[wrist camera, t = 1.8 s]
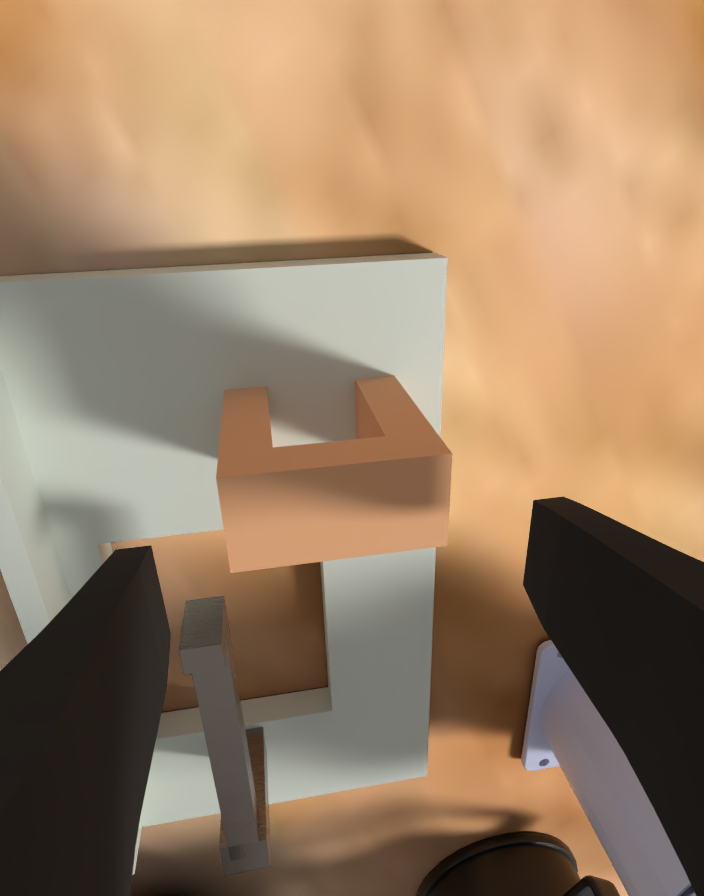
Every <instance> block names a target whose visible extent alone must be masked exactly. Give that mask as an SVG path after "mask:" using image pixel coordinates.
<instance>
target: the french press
mask: <svg viewBox="0 0 704 896" xmlns="http://www.w3.org/2000/svg"><path fill="white" fill-rule="evenodd" d="M417 896H620V895H619V893H618V891H617V889H616V887H615V886H614V884H613V883H611V882H610V881H607V880H604V879H600V878H597V877H593V876H585V877H584V878H582V879H581V880H580V878H579V875H578V870H577V864H576V860H575V858H574V856H573V854H572V852H571V851H570V849H569V847H568V846H567V845H565V844H564V843H563V842H562V841H561V840H559V839H556V838H554V837H552V836H550V835H545V834H540V833H524V832H522V833H512V834H505V835H501V836H496V837H492V838H488V839H486V840H483V841H480V842H477V843H474V844H472V845H470V846H468V847H466V848H464V849H462V850H460V851H458V852H456V853H455V854H453V855H451V856H450V857H448V858H447V859H445V860H444V861H443V862H441V863H440V864H439V865H438V866H437V867H436V868H434V869H433V870H432V871H431V873H430V874H429V875H428V876H427V877H426V878H425V879H424V881H423V883H422V885H421V886H420V888H419V890H418V893H417Z"/></svg>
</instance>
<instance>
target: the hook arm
mask: <svg viewBox="0 0 704 896" xmlns="http://www.w3.org/2000/svg"><path fill="white" fill-rule="evenodd" d="M179 653H180V658H181V662H182V667H183V672H184V675H187V674H192V677H193V682H194V687H195V691H196V696H197V701H198V706H199V711H200V716H201V720H202V725H203V730H204V735H205V740H206V745H207V749H208V754H209V759H210V764H211V769H212V774H213V779H214V783H215V788H216V793H217V798H218V803H219V808H220V812H221V830H220V852H221V857H222V861H223V866H224V870H225V875H231V874H236V873H241V872H246V871H252V870H257V869H262V868H267V867H271V856H270V828H269V801H268V773H267V751H266V744H265V736H264V729H263V727H258V728H252V729H246V730H245V725H244V719H243V712H242V706H241V700H240V694H239V687H238V681H237V675H236V669H235V663H234V656H233V650H232V644H231V638H230V631H229V625H228V619H227V613H226V607H225V600H224V596H221V597H214V598H206V599H198V600H191V601H186V604H185V611H184V618H183V626H182V633H181V640H180V647H179Z"/></svg>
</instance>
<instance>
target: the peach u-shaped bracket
mask: <svg viewBox="0 0 704 896" xmlns="http://www.w3.org/2000/svg"><path fill="white" fill-rule="evenodd" d="M355 397H356V431H357V439H354V440H344V441H334V442H323V443H313V444H303V445H293V446H282V447H273V445H272V435H271V425H270V415H269V405H268V395H267V386H264V387H252V388H240V389H228V390H225V391H224V402H223V412H222V422H221V432H220V442H219V452H218V463H217V473H216V481H217V488H218V495H219V501H220V508H221V515H222V521H223V528H224V534H225V541H226V548H227V554H228V561H229V567H230V573H235V572H243V571H251V570H259V569H267V568H275V567H283V566H291V565H299V564H307V563H315V562H323V561H330V560H338V559H346V558H354V557H362V556H370V555H378V554H386V553H394V552H402V551H410V550H418V549H426V548H434V547H442V546H448V526H449V506H450V486H451V467H452V453H451V451H450V450H449V449H448V447H447V446H446V445H445V443H444V442H443V441H442V439H441V438H440V437H439V435H438V434H437V432H436V431H435V430H434V428H433V427H432V426H431V424H430V423H429V422H428V420H427V419H426V418H425V416H424V415H423V414H422V412H421V411H420V409H419V408H418V407H417V405H416V404H415V403H414V401H413V400H412V399H411V397H410V396H409V395H408V393H407V392H406V391H405V389H404V388H403V386H402V385H401V384H400V382H399V381H398V380H397V378H396V377H395V376H384V377H372V378H360V379H355Z"/></svg>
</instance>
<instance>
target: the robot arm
mask: <svg viewBox="0 0 704 896" xmlns="http://www.w3.org/2000/svg"><path fill="white" fill-rule="evenodd" d="M523 585H524V588H525V590H526V592H527V594H528V596H529V599H530V601H531V603H532V605H533V607H534V610H535V612H536V614H537V616H538V618H539V620H540V622H541V624H542V626H543V628H544V630H545V631H546V633H547V634H548V636H549V638H550V639H551V640H548V641H545V642H543V643H542V644H541V645H540V646H539V647H538V650H537V654H536V661H535V668H534V675H533V682H532V689H531V696H530V703H529V709H528V716H527V723H526V730H525V737H524V744H523V751H522V758H521V762H522V764H523V766H524V768H525V769H526V770H529V771H534V770H540V769H545V768H551V767H556V766H560V767H561V769H562V771H563V772H564V774H565V776H566V778H567V780H568V782H569V784H570V786H571V787H572V789H573V791H574V793H575V795H576V797H577V799H578V801H579V803H580V804H581V806H582V808H583V810H584V812H585V814H586V816H587V818H588V819H589V821H590V823H591V825H592V827H593V829H594V831H595V833H596V835H597V836H598V838H599V840H600V842H601V844H602V846H603V848H604V850H605V851H606V853H607V855H608V857H609V859H610V861H611V863H612V865H613V867H614V868H615V870H616V872H617V874H618V876H619V878H620V880H621V882H622V883H623V885H624V887H625V889H626V891H627V893H628V895H629V896H704V562H702V561H700V560H697V559H695V558H693V557H691V556H688V555H686V554H684V553H682V552H680V551H678V550H675V549H673V548H671V547H669V546H667V545H665V544H663V543H661V542H658V541H656V540H654V539H652V538H650V537H648V536H646V535H644V534H642V533H640V532H638V531H636V530H634V529H632V528H630V527H628V526H626V525H624V524H622V523H620V522H617V521H615V520H613V519H611V518H609V517H607V516H605V515H603V514H601V513H599V512H597V511H595V510H593V509H591V508H589V507H586V506H584V505H582V504H580V503H577V502H575V501H573V500H570V499H568V498H565V497H557V498H548V499H540V500H534V501H533V509H532V517H531V525H530V533H529V541H528V549H527V557H526V565H525V573H524V581H523ZM170 634H171V633H170V629H169V624H168V620H167V615H166V611H165V606H164V602H163V597H162V593H161V588H160V583H159V579H158V574H157V570H156V565H155V561H154V556H153V552H152V547H151V546H143V547H135V548H127V549H118V550H115V551H114V552H113V553H112V554H111V555H110V556H109V557H108V558H107V560H106V561H105V562H104V563H103V564H102V565H101V566H100V567H99V568H98V570H97V571H96V572H95V573H94V574H93V575H92V576H91V577H90V579H89V580H88V581H87V582H86V583H85V584H84V585H83V586H82V587H81V589H80V590H79V591H78V592H77V593H76V594H75V595H74V596H73V598H72V599H71V600H70V601H69V602H68V603H67V604H66V605H65V606H64V607H63V608H62V610H61V611H60V612H59V613H58V614H57V615H56V616H55V617H54V618H53V619H52V620H51V621H50V622H49V623H48V625H47V626H46V627H45V628H44V629H43V630H42V631H41V632H40V633H39V634H38V635H37V636H36V637H35V638H34V639H33V640H32V641H31V642H30V643H29V644H28V645H27V646H26V647H25V648H24V649H23V650H22V651H21V652H20V653H19V654H17V655H16V656H15V657H14V658H13V659H12V660H11V661H10V662H9V663H8V664H7V665H6V666H5V667H4V668H3V669H2V670H1V671H0V896H130V892H131V883H132V874H133V865H134V856H135V847H136V840H137V834H138V828H139V822H140V816H141V811H142V806H143V801H144V796H145V791H146V786H147V782H148V777H149V772H150V767H151V762H152V757H153V752H154V747H155V743H156V738H157V733H158V728H159V723H160V718H161V713H162V708H163V703H164V697H165V692H166V687H167V676H168V664H169V649H170Z"/></svg>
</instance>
